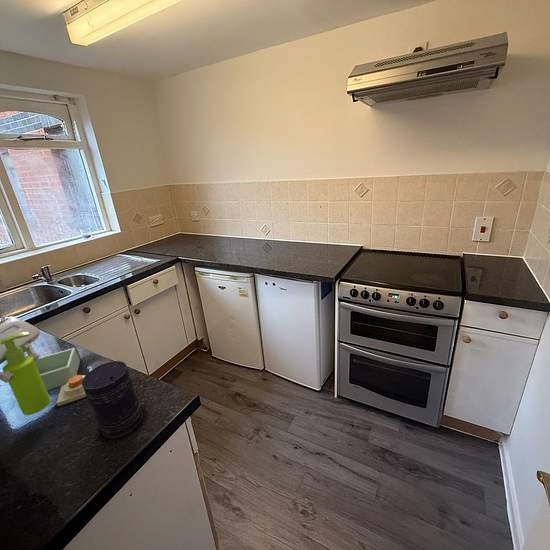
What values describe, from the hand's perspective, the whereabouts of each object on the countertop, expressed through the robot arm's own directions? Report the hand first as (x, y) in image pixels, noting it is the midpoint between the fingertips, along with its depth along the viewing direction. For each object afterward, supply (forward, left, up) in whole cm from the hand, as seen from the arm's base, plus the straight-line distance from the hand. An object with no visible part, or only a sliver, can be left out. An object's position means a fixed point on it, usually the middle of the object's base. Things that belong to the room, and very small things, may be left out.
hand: (24, 369), depth 72 cm
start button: (+6, +9, -14) cm, 18 cm away
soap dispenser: (-1, +1, -12) cm, 12 cm away
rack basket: (-2, +21, -17) cm, 27 cm away
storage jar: (+18, -11, -17) cm, 27 cm away
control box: (+6, +9, -17) cm, 20 cm away
